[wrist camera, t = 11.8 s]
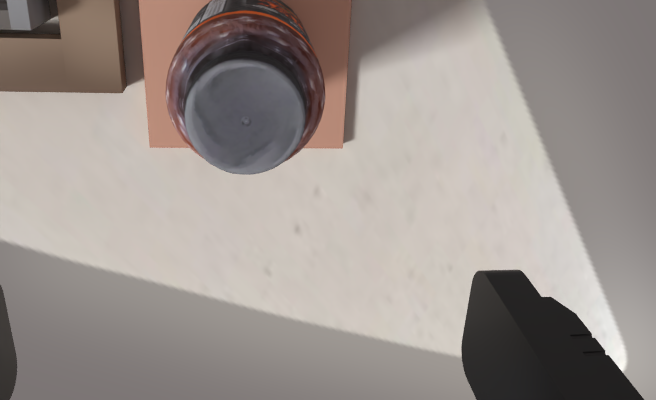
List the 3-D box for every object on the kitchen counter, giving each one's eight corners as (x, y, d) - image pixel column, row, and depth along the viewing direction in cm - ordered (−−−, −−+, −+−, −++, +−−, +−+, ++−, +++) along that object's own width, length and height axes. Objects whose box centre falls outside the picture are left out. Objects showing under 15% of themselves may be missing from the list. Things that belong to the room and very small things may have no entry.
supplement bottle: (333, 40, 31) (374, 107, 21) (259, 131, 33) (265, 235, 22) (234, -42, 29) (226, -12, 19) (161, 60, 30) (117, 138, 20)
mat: (135, -65, 29) (133, -64, 28) (352, -55, 30) (355, -54, 29) (151, 143, 33) (149, 147, 32) (341, 144, 34) (342, 148, 33)
